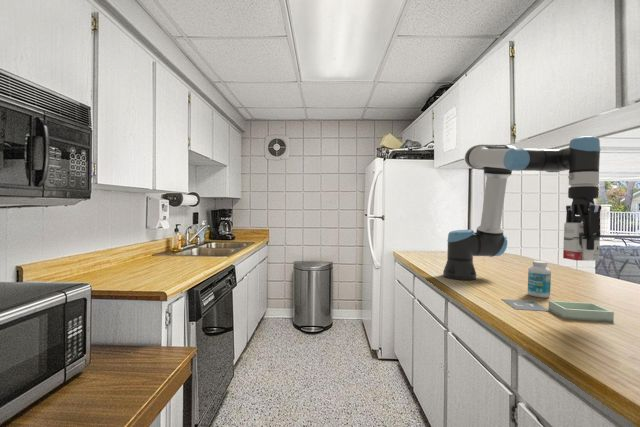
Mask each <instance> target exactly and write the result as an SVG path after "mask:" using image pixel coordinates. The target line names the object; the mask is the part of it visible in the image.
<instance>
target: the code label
mask: <svg viewBox="0 0 640 427" xmlns="http://www.w3.org/2000/svg"><path fill="white" fill-rule="evenodd" d="M501 301H503V302H504V303H506V304H507V305H509V307H511V308H513V309H515V310H519V309H520V310H522V311H540V312H551V311H550V310H549V308H546V307H544V306H543V305H541V304H540V303H537V302H536V301H534V300H521V299H520V300H519V299H506V298H504V299H501Z"/></svg>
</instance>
